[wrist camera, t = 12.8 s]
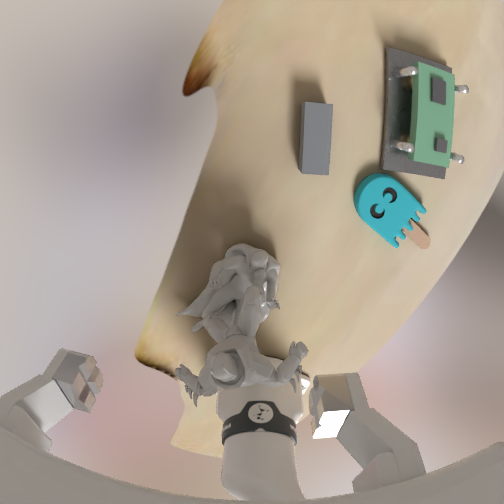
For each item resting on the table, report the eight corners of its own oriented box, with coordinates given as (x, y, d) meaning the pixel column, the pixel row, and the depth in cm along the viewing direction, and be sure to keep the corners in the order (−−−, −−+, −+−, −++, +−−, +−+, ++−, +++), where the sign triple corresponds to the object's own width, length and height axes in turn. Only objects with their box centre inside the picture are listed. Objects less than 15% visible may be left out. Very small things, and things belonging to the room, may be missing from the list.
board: (442, 165, 28) (451, 168, 26) (407, 158, 28) (416, 161, 27) (447, 75, 23) (457, 74, 21) (412, 63, 23) (420, 60, 21)
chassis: (440, 177, 32) (463, 188, 27) (380, 167, 32) (398, 177, 27) (447, 68, 25) (471, 66, 20) (385, 48, 25) (404, 39, 20)
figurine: (220, 215, 36) (188, 301, 20) (307, 256, 38) (336, 356, 22) (176, 313, 43) (143, 408, 27) (249, 342, 45) (244, 439, 29)
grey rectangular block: (322, 170, 33) (328, 175, 30) (298, 168, 33) (301, 173, 30) (326, 105, 29) (332, 104, 26) (301, 103, 29) (305, 101, 26)
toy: (416, 267, 37) (346, 208, 33) (411, 261, 38) (342, 203, 35) (446, 231, 34) (381, 163, 30) (439, 225, 36) (375, 160, 32)
